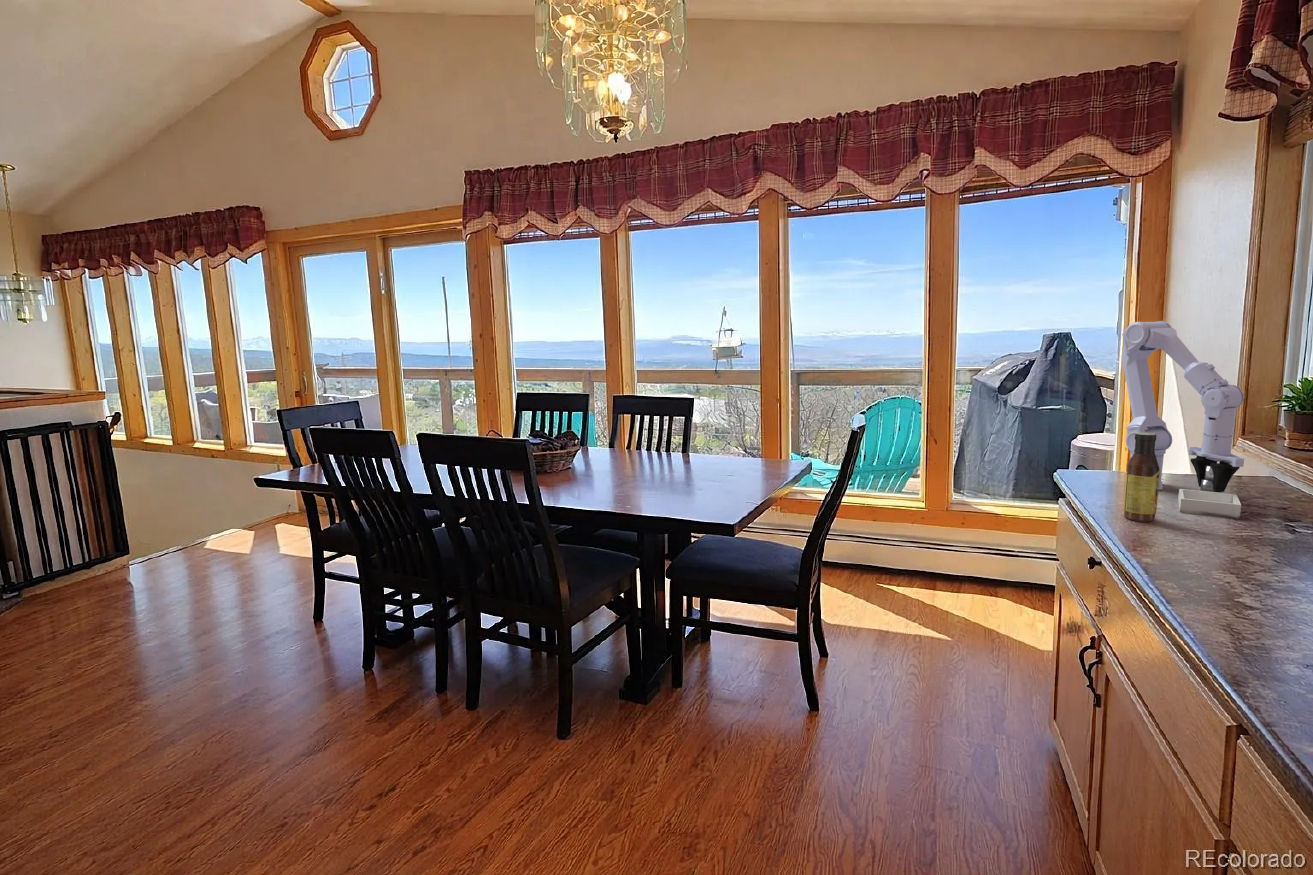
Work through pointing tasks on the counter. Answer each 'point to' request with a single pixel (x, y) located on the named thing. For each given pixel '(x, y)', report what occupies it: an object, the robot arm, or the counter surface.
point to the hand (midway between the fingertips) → (1211, 489)
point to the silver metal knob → (1208, 480)
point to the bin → (1209, 503)
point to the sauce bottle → (1142, 480)
